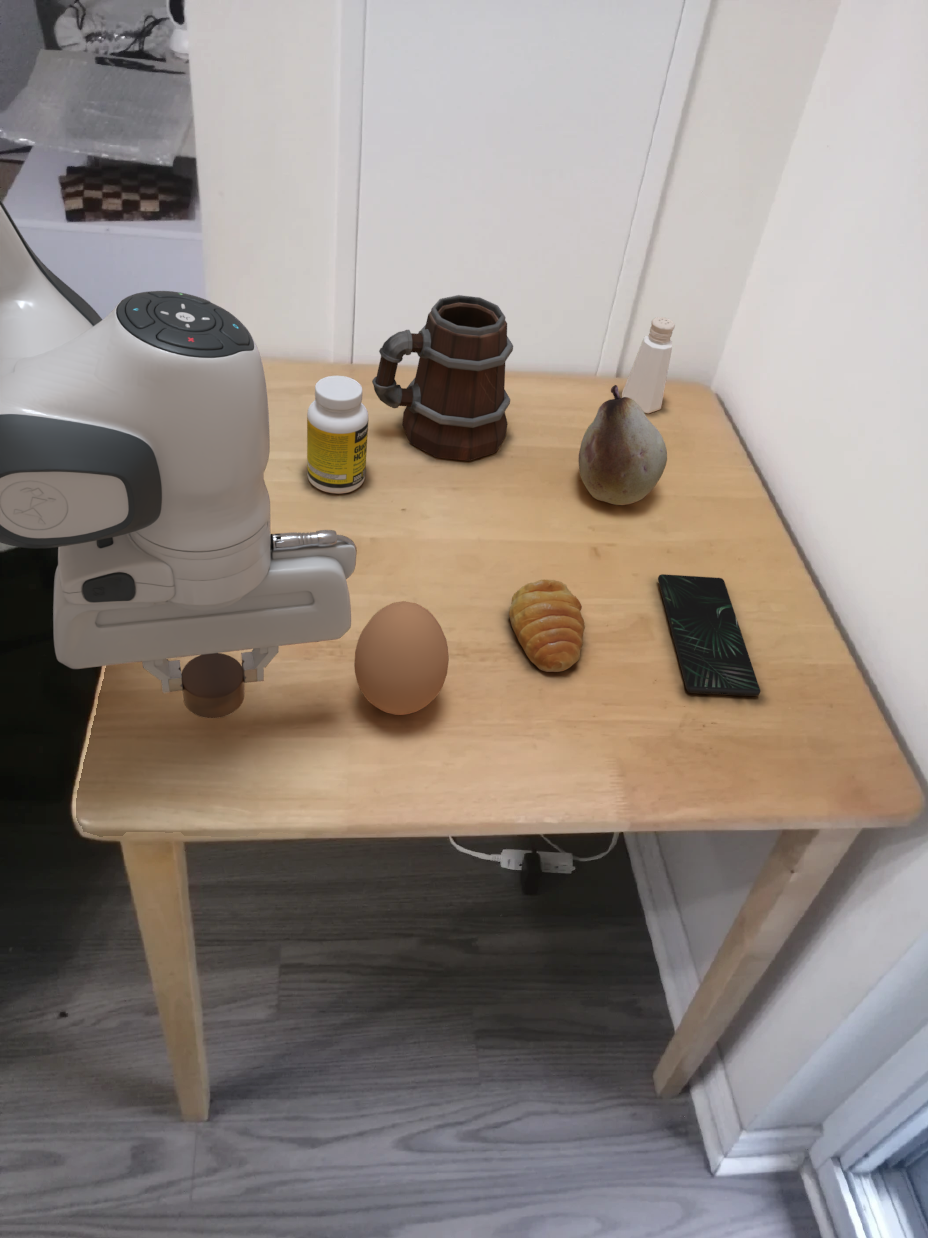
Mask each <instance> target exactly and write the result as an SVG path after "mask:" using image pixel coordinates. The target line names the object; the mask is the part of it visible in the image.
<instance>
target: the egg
mask: <svg viewBox="0 0 928 1238" xmlns="http://www.w3.org/2000/svg"><path fill="white" fill-rule="evenodd" d="M449 657H450V655H449V646H448V642H447V638H446V635H445V633H444V631H443V628H442V627H441V625H440V622H439V621H438V619H437V618H436V617H435V616H434V615H433V613H431V611H429V609H427V608H426V607H424V606H422V605H421V604H419V603H417V602H414V601H413V602H412V601H406V600H402V601H401V600H400V601H396V602H395V601H394V602H392V603H389V604H387V605H385V606H384V607H382V608H380V609H379V610H378V611H377V612H376V613H374V614H373V616H371V618H370V619H369V620H368V622H367V623H366V624H365V626H364V628H363V629H362V631H361V632H360V635H359V636H358V640H357V643H356V646H355V651H354V664H353V665H354V674H355V678H356V679H355V680H356V683H357V685H358V687H359V689H360V692H361V693H362V695H364V697H365V699H366V700H367V701H368V702H369V703H370V704H371V705H372V706H374V707H375V708H377V709H378V710H380V711H382V712H385V713H387V714H390V715H395V716H399V715H400V716H401V715H411V714H414V713H416V712H417V713H418V712H419V711H421V710H422V709H424V708H426V707H427V706H428V705H429V704H430V703H431V702H433V701H434V700H435V698H436V697H437V696H438V695H439V694H440V692H441V690H442V689H443V687H444V685H445V681H446V678H447V675H448V668H449V663H450V662H449V659H450V658H449Z"/></svg>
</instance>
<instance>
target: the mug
mask: <svg viewBox="0 0 928 1238" xmlns="http://www.w3.org/2000/svg"><path fill="white" fill-rule="evenodd" d="M426 317H427V318H426V321H425V325H423V327H422V328H421V329H420V330H419V331H418V333H412V332H411V330H410V329H405V330H402V331H398V332H396V333H394V334H392V335H391V336H389V337H388V338H387V339H386V340H385V341H384V342H383V344H382V345H381V347H380V348H379V350H378V352H379V355H380V359H379V363H378V368H377V372H376V376H375V377H374V378H373V379H372V380H371V383H372V386H373V390H374V393H375V394H376V396H377V397H378V399H379V401H380V402H382V403H383V404H385V405H386V406H387V407H390V408H392V409H399V407H405V408H404V411H403V413H402V428H403V430H404V433H405V435H406V437H407V439H408V441H409V444H410V445H412V446H414V447H416V448H418V449H420V450H422V451H423V452H425V453H427V454H429V455H431V456H433V457H435V458H439V459H449V460H458V461H468V462H470V461H474V460H476V459H480V458H482V457H487V456H490V455H492V454H496V453H497V451H498V450H499V448H500V446H501V445H502V443H503V442H504V441H505V438H506V437H507V436H506V435H507V430H508V420H507V416H506V411H507V410H508V408H509V406H510V404H511V398H510V396H509V394H508V393H507V391H506V389H505V385H506V384H505V383H506V382H505V381H506V361H507V360H508V358H509V357H510V356H511V354H512V352H513V351H514V344H513V342H512V341H511V339H510V338H509V336H508V322H507V321H506V315H505V314H504V312H503V311H502V309H501V308H500V306H499V305H497V304H496V303H494V302H491V301H489V300H487V299H485V298H483V297H480V296H479V297H478V296H470V295H463V294H457V295H452V296H448V297H446V296H445V297H442V298H439V299H438V300H437V302H436V303H435V304H434V305H433V306H432V307H431V308H430V311H429V312H428V314H427V316H426ZM413 353H415V354H417V356H418V357H419V359H418V363H417V368H416V372H415V376H414V378H413V379H412V381H410V383H409V384H408V385H407V386H406V388H404V387H402V386H401V385H400V384H397V381H396V379H395V378H396V375H397V370H398V365H399V364H400V363H401V362H402V361H403V359H404V356H411V355H412V354H413Z"/></svg>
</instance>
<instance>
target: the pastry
mask: <svg viewBox="0 0 928 1238" xmlns="http://www.w3.org/2000/svg"><path fill="white" fill-rule="evenodd" d="M582 607H583V606H582V604H581V601H580V599H578V598H577V596H576V595H574V594H573V593H572V591H571V590H570V589H569V588H568V585H567V584H566V583H564V582H562V581H559V580H556V579H539V580H536V581H534V582H529V583H527V584H524V585H523V586H521V587H520V588H519V589H518V590H516V591H515V593H513V595H512V597H511V604H510V607H509V611H508V614H509V619H510V624H511V628H512V630H513V632H514V634H515V637H516V638H517V641H518V643H519V645H520V646H521V647H522V649H523V652H524V653H525V655H526V656H527V658H528V659H529V661H530V662H531V663H532V664H534V665H535V667H537V669H539V670H540V671H542V672H546V673H549V672H554V673H556V672H557V673H558V672H563V671H566V670H568V669H570V668H571V667H572V666H573V665H574V664H576V663H577V662H578V661H580V656H581V650H582V647H583V645H584V639H583V637H584V632H585V629H586V626H585V620H584V618H583V616H582V612H581V611H582V609H583V608H582Z"/></svg>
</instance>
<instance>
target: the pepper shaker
mask: <svg viewBox="0 0 928 1238" xmlns="http://www.w3.org/2000/svg"><path fill="white" fill-rule="evenodd" d="M650 323H651V324H650V325H651V326H650V329H649V333H648V335H645V336H643V339H642V341H641V343H640V346H639V349H638V351H637V353H636V356H635V359H634V361H633V364H632V366H631V369H630V371H629V374H628V377H627V379H626V382H625V384H624V387H623V389H622V392H621V398H623V397H628V398H630V399H632V400H634V401H635V402H636V403H637V404H638V405H639V406H640V407H641V409H642V410H643V412H644V414H651V413H654V412H657V411H660V410H661V409H662V405H663V401H664V400H663V399H664V394H665V390H666V389H665V388H666V383H667V378H668V373H669V367H670V362H671V357H672V350H673V341H672V339H671V337H672V335H673V331H674V330H675V327H676V323H675V322H674V321H673V320H671V319H670V318H667V317H663V316H657V317H654V318H653V319H652V320H651V321H650Z"/></svg>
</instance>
